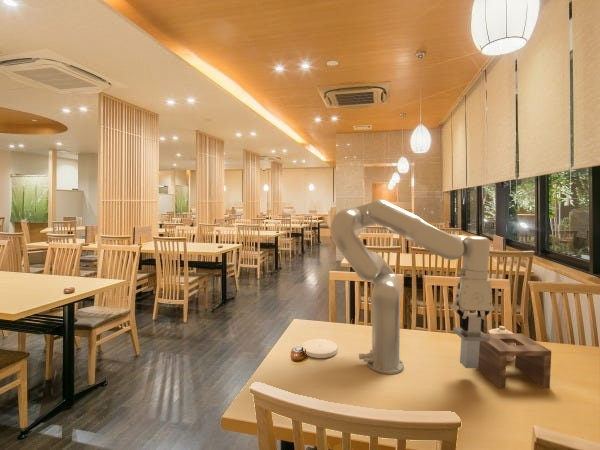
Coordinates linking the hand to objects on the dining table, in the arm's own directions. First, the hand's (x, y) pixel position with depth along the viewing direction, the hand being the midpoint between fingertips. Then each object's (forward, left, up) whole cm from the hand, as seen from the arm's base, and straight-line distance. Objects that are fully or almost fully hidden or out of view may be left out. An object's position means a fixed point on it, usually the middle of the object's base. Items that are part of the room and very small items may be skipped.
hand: (471, 328), depth 110 cm
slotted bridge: (+15, +2, -17) cm, 23 cm away
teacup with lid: (+21, +18, -17) cm, 32 cm away
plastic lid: (-48, +22, -18) cm, 56 cm away
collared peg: (0, 0, -12) cm, 12 cm away
